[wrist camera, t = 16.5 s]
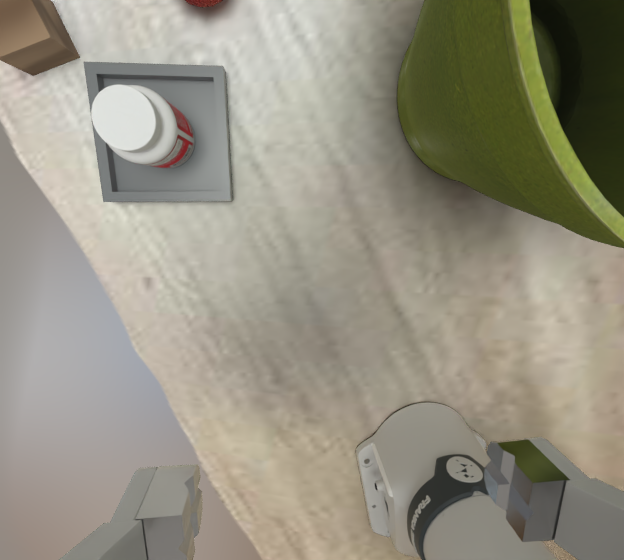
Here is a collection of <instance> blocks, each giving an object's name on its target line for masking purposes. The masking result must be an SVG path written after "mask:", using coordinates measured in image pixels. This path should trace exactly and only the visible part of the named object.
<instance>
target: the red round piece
mask: <svg viewBox="0 0 624 560" xmlns="http://www.w3.org/2000/svg"><path fill="white" fill-rule="evenodd" d="M185 1H186V2H187V3H188V4H192V5H195V6H199V7H209V6H214V5H215V4H217V3H219V2H220V1H222V0H185Z"/></svg>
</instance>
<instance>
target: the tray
mask: <svg viewBox="0 0 624 560" xmlns="http://www.w3.org/2000/svg"><path fill="white" fill-rule="evenodd" d="M84 68H85V75H86V82H87V89H88V96H89V103H90V110H92V104H93V101H94V99H95V97H96V96H97V94H98V93H99V92H100V91H101V90H103V89H104V88H106V87H108V86H112V85H138V86H143V87H146V88H149V89H151V90H153V91H154V92H156V93H158V94H159V95H160V96H162V97H163V98H164V99H165V100H167V101H168V102H169V103H170V104H172V105H173V106H174V107H175V108H177V109H178V110H179V111H180V112H181V113H182V114H183V115H184V116H185V117H186V118H187V119H188V120H189V122H190V124H191V126H192V128H193V131H194V136H195V145H194V149H193V152H192V154H191V156H190V157H189V159H188V160H187V161H186V162H185V163H183V164H182V165H180V166H177V167H174V168H159V167H154V166H147V165H143V164H136V163H133V162H130V161H128V160H125V159H124V158H122V157H120V156H119V155H118V154H116V153H115V152H114V151H113V150H112V149H111V148H110V147H109V145H108V144H107V143H106V142H105V141H104V140H103V139H102V138H101V137H100V136H99V134H98V133H97V131H96V129H95V127H94V125H93V121H92V125H93V132H94V139H95V146H96V153H97V160H98V167H99V174H100V181H101V188H102V195H103V202H145V201H233V191H232V173H231V155H230V137H229V119H228V101H227V83H226V72H225V70H224V67H223V66H205V65H172V64H139V63H107V62H84ZM91 117H92V115H91Z"/></svg>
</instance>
